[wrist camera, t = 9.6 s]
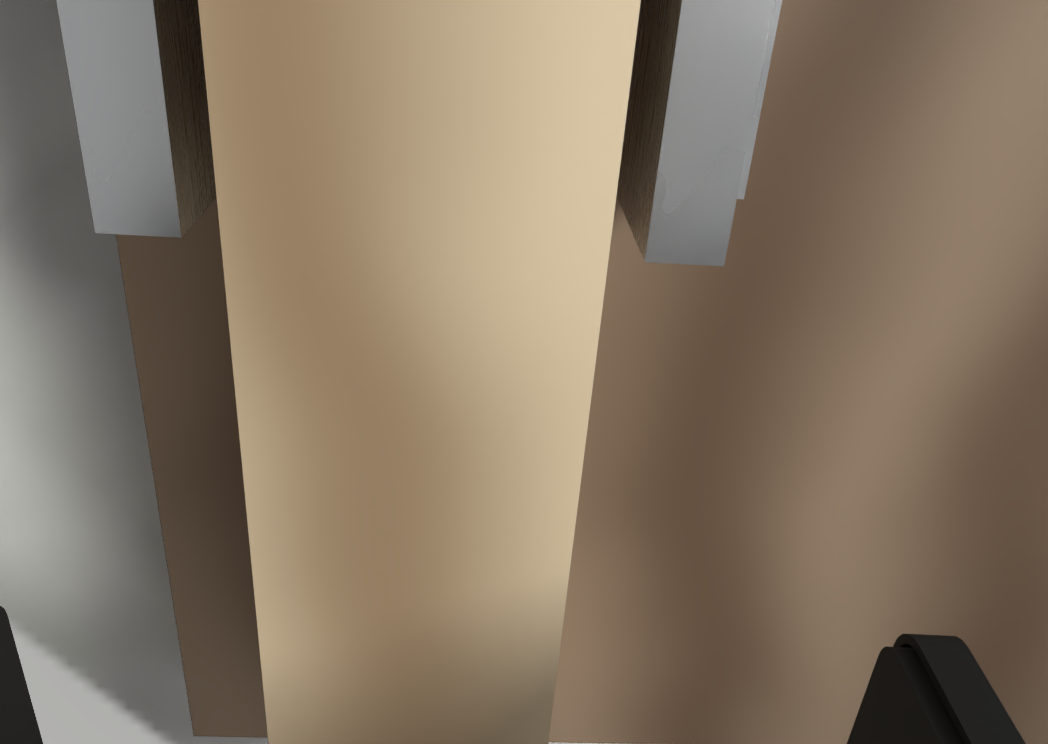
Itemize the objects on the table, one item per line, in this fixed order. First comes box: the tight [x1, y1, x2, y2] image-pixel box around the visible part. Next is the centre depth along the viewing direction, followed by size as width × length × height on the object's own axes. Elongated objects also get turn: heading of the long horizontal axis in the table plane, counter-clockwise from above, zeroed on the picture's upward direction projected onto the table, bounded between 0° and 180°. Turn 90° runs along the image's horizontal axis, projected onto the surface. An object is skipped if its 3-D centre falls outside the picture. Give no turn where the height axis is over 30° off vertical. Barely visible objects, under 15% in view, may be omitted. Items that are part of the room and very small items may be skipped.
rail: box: [198, 0, 641, 744], centre depth 13 cm, size 4×18×5 cm, turn 176°
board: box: [116, 0, 1048, 744], centre depth 16 cm, size 22×23×2 cm
